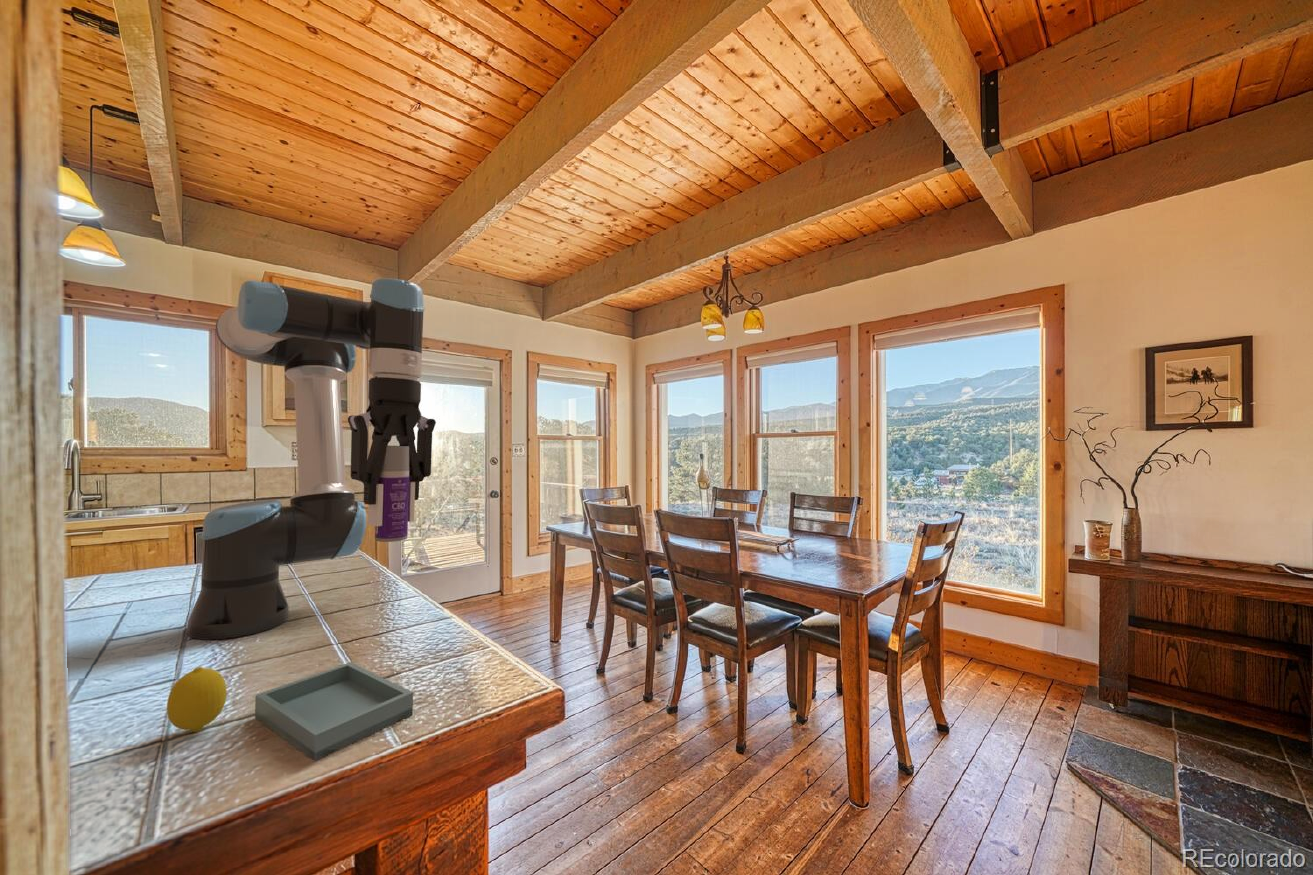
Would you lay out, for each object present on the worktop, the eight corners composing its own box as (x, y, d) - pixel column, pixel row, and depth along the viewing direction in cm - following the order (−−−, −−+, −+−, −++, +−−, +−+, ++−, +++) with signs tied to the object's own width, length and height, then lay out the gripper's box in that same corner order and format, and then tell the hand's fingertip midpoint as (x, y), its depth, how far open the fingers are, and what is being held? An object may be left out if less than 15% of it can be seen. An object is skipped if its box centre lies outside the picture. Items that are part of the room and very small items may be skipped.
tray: (254, 717, 67) (255, 694, 67) (349, 681, 77) (350, 662, 77) (314, 761, 59) (315, 735, 59) (412, 714, 69) (413, 692, 69)
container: (394, 542, 80) (396, 446, 80) (367, 540, 81) (370, 445, 81) (413, 537, 84) (416, 446, 84) (388, 535, 85) (391, 445, 85)
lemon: (191, 719, 66) (192, 658, 66) (236, 718, 67) (238, 657, 67) (153, 745, 61) (154, 678, 61) (202, 744, 61) (204, 677, 61)
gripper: (351, 370, 73) (346, 533, 73) (457, 383, 88) (453, 518, 88) (324, 372, 77) (320, 527, 77) (431, 384, 92) (427, 513, 92)
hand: (391, 522), depth 83 cm, fingers closed on container, 5 cm apart
